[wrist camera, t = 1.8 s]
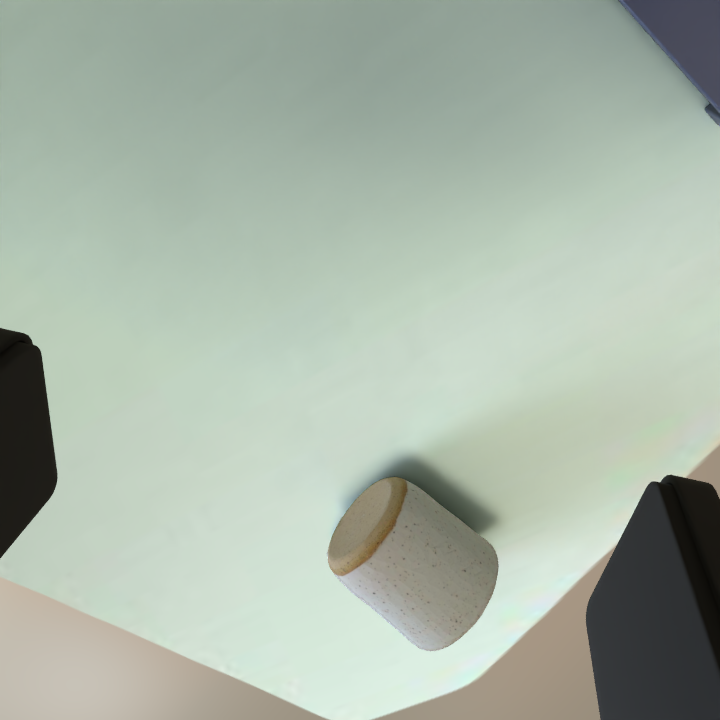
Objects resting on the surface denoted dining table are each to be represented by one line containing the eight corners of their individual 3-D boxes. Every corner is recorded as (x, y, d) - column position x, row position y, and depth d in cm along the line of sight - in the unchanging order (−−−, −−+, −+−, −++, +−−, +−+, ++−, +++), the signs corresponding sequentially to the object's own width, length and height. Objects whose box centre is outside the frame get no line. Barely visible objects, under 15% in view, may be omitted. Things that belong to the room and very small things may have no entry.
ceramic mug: (405, 446, 40) (387, 540, 34) (501, 521, 42) (502, 624, 35) (304, 529, 45) (272, 624, 39) (393, 592, 47) (377, 692, 41)
